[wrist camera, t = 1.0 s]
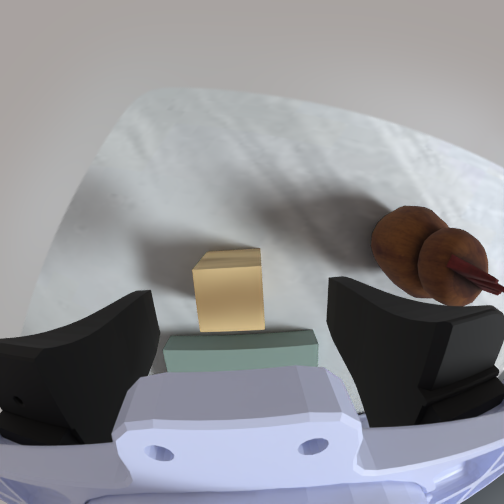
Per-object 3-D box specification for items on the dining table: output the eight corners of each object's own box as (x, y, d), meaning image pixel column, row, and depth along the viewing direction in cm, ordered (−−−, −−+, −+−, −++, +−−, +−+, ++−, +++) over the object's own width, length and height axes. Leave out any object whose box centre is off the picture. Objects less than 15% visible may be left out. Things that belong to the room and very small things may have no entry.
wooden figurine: (347, 235, 24) (453, 292, 10) (393, 191, 23) (523, 200, 9) (390, 290, 25) (491, 375, 11) (432, 248, 24) (551, 298, 10)
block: (263, 298, 26) (264, 329, 20) (212, 301, 26) (200, 332, 20) (260, 248, 25) (261, 265, 19) (207, 251, 25) (192, 269, 19)
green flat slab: (309, 416, 28) (313, 435, 25) (190, 420, 29) (185, 438, 26) (312, 328, 26) (318, 344, 23) (171, 334, 27) (162, 350, 24)
